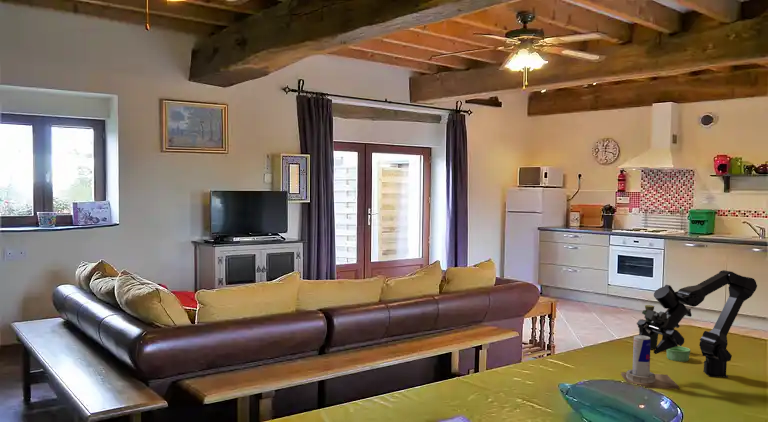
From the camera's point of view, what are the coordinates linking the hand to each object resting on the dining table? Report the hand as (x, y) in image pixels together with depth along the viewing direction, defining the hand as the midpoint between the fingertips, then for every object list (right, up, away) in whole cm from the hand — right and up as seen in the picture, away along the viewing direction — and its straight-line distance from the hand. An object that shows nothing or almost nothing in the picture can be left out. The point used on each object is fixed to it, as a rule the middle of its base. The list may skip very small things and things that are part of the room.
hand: (645, 349), depth 223 cm
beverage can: (-2, -10, 0) cm, 11 cm away
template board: (+1, -11, 0) cm, 12 cm away
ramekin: (+26, -11, +30) cm, 41 cm away
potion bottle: (+21, -10, +47) cm, 52 cm away
